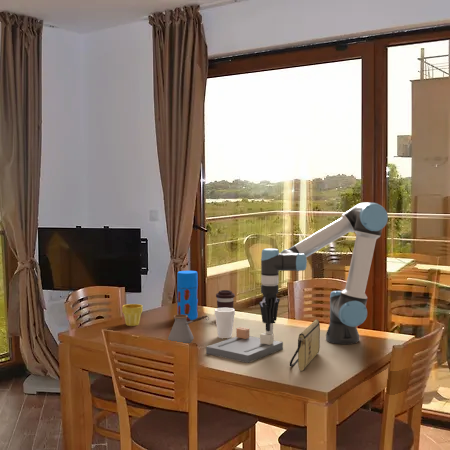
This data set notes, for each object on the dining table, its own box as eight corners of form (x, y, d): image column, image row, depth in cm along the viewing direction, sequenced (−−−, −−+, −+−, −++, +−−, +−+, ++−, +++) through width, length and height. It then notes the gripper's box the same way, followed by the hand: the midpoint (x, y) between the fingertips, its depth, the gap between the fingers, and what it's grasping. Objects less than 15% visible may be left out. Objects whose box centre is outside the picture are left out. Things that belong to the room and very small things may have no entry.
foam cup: (237, 335, 293) (237, 308, 292) (229, 340, 284) (229, 312, 283) (219, 333, 297) (219, 307, 296) (211, 338, 288) (211, 310, 287)
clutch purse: (304, 351, 265) (304, 317, 264) (320, 353, 263) (320, 318, 262) (286, 371, 238) (286, 333, 237) (303, 373, 235) (304, 335, 234)
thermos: (197, 320, 324) (196, 273, 323) (176, 320, 324) (176, 273, 323) (198, 316, 335) (198, 270, 333) (178, 316, 335) (178, 270, 334)
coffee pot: (162, 344, 277) (162, 311, 276) (179, 339, 286) (179, 307, 285) (199, 352, 264) (199, 318, 263) (216, 346, 273) (215, 313, 272)
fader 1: (249, 337, 276) (249, 328, 276) (245, 338, 274) (245, 329, 273) (240, 335, 279) (240, 327, 279) (236, 337, 277) (236, 328, 276)
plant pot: (146, 325, 314) (146, 306, 314) (127, 327, 309) (127, 308, 308) (137, 321, 323) (137, 302, 322) (119, 323, 317) (118, 305, 316)
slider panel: (282, 348, 269) (282, 341, 269) (248, 362, 249) (248, 355, 249) (242, 340, 283) (242, 334, 283) (206, 353, 262) (206, 346, 262)
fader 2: (273, 343, 266) (273, 334, 266) (269, 344, 264) (269, 335, 263) (264, 341, 269) (264, 332, 269) (260, 342, 267) (260, 333, 266)
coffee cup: (217, 316, 334) (217, 289, 333) (235, 317, 332) (235, 289, 331) (214, 320, 324) (214, 292, 323) (233, 321, 322) (233, 293, 321)
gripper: (271, 281, 274) (270, 333, 276) (253, 285, 264) (253, 339, 265) (285, 283, 269) (284, 336, 271) (268, 287, 259) (267, 342, 261)
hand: (269, 337), depth 268 cm, fingers closed
